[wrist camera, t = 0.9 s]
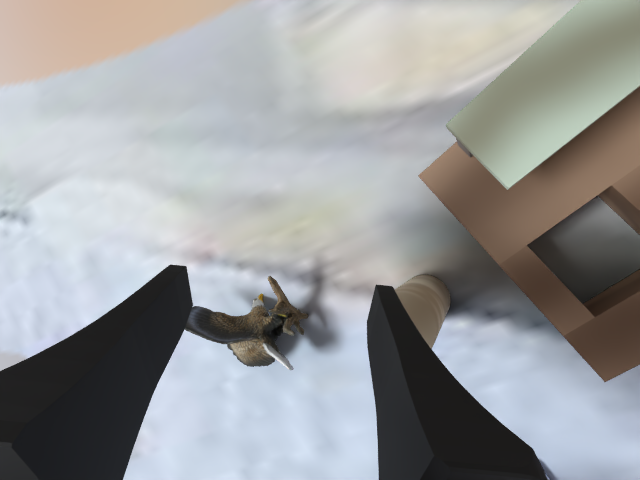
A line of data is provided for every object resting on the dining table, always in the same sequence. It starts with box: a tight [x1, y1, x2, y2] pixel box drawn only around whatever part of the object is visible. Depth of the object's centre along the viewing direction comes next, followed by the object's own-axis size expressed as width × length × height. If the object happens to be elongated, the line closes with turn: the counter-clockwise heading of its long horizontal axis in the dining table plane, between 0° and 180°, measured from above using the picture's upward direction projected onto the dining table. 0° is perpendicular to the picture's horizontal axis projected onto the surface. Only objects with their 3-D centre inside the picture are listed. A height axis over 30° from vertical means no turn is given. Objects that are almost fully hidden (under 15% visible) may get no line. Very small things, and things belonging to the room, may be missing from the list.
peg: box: [395, 275, 451, 349], centre depth 20 cm, size 3×3×8 cm
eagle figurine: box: [185, 276, 308, 370], centre depth 27 cm, size 8×7×9 cm
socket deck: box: [419, 0, 640, 382], centre depth 16 cm, size 14×12×7 cm
